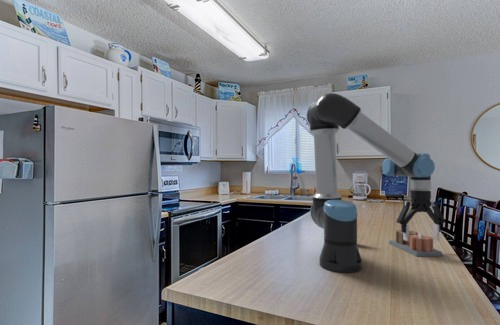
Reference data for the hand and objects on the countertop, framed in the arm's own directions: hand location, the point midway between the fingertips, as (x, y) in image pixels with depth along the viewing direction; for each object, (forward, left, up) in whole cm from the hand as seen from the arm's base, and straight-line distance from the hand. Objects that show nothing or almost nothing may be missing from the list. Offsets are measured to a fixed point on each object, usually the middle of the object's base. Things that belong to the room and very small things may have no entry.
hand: (421, 240), depth 126 cm
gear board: (+5, 0, -5) cm, 7 cm away
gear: (0, 0, -4) cm, 4 cm away
